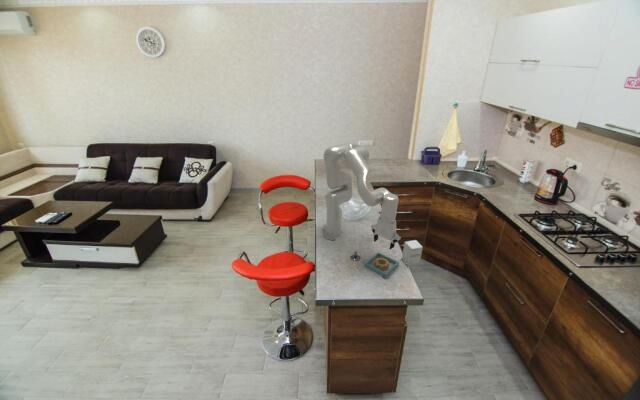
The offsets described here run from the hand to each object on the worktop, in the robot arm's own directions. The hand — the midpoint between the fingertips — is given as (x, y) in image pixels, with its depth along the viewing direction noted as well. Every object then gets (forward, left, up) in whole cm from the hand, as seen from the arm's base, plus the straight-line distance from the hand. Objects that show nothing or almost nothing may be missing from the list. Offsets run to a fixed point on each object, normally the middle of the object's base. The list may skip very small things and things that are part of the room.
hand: (383, 244), depth 163 cm
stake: (-14, -4, -15) cm, 21 cm away
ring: (+1, 0, -14) cm, 14 cm away
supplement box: (+11, +15, -15) cm, 24 cm away
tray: (+1, 0, -15) cm, 15 cm away
